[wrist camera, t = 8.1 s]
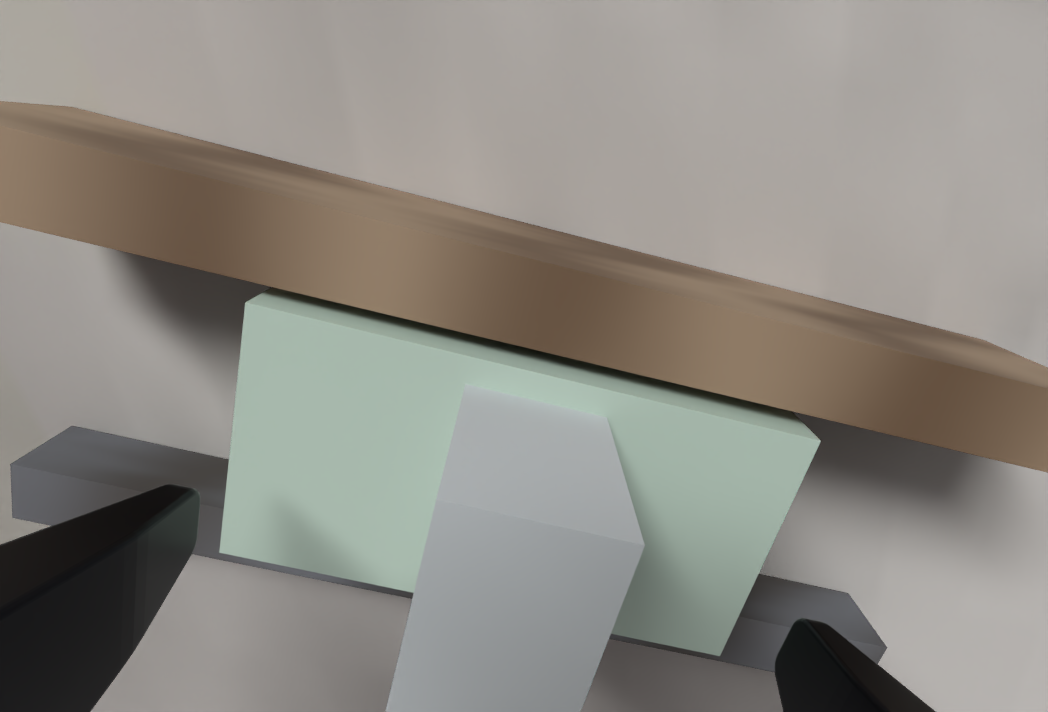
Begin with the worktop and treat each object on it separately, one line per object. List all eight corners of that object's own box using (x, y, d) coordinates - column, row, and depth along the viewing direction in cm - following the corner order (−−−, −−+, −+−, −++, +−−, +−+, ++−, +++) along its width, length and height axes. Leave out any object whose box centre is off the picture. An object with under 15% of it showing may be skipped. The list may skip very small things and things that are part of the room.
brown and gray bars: (983, 339, 15) (1163, 417, 11) (827, 632, 18) (920, 783, 14) (72, 107, 13) (-143, 89, 9) (72, 474, 16) (-89, 590, 12)
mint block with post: (729, 348, 15) (956, 577, 7) (665, 512, 17) (792, 848, 9) (337, 250, 14) (100, 384, 6) (309, 432, 16) (92, 720, 8)
